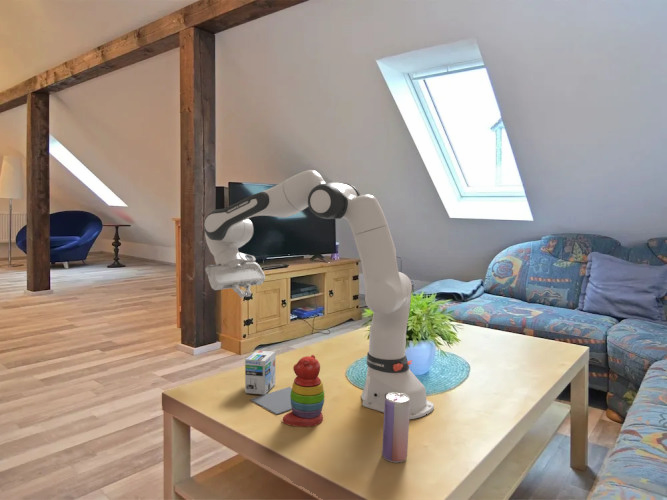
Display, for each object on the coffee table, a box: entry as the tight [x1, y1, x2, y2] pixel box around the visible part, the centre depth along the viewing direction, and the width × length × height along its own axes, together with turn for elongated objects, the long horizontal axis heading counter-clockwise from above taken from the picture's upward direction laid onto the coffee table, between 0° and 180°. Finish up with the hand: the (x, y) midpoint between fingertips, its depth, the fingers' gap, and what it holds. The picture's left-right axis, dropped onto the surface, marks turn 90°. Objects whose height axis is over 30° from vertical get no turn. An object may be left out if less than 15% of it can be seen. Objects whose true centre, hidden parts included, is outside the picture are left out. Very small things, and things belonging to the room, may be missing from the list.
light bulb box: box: [244, 350, 277, 396], centre depth 157 cm, size 11×7×11 cm, turn 169°
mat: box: [250, 386, 292, 416], centre depth 149 cm, size 13×15×1 cm
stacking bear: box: [282, 354, 325, 428], centre depth 137 cm, size 11×10×18 cm
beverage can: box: [381, 393, 410, 464], centre depth 119 cm, size 6×6×15 cm
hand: (246, 295), depth 166 cm, fingers closed
